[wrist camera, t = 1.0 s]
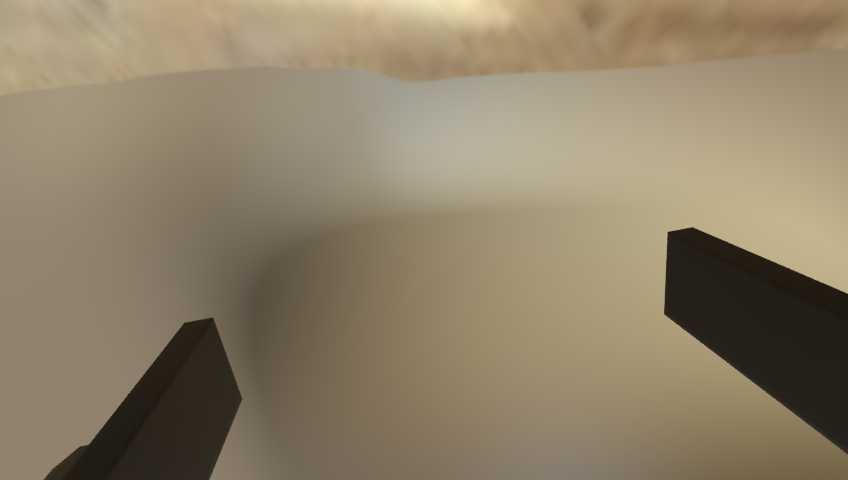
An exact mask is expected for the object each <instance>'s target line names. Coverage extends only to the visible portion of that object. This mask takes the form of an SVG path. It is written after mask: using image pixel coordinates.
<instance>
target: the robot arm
mask: <svg viewBox="0 0 848 480" xmlns="http://www.w3.org/2000/svg"><path fill="white" fill-rule="evenodd" d="M667 240H668V241H667V261H666V285H665V307H664V314H665V315H666V316H667V317H668V318H670V319H671V320H673V321H674V322H675V323H676V324H678V325H679V326H680V327H682V328H683V329H684V330H686V331H687V332H688V333H689V334H691V335H692V336H693V337H695V338H696V339H697V340H699V341H700V342H701V343H703V344H704V345H705V346H706V347H708V348H709V349H710V350H712V351H713V352H714V353H716V354H717V355H718V356H720V357H721V358H722V359H724V360H725V361H726V362H727V363H729V364H730V365H731V366H733V367H734V368H735V369H737V370H738V371H739V372H741V373H742V374H743V375H745V376H746V377H747V378H748V379H750V380H751V381H752V382H754V383H755V384H757V385H758V386H759V387H760V388H762V389H763V390H764V391H766V392H767V393H768V394H769V395H771V396H772V397H773V398H775V399H776V400H777V401H779V402H780V403H782V404H783V405H784V406H785V407H786V408H788V409H789V410H790V411H792V412H793V413H794V414H796V415H797V416H798V417H800V418H801V419H802V420H803V421H805V422H806V423H807V424H809V425H810V426H811V427H813V428H814V429H815V430H817V431H818V432H819V433H821V434H822V435H823V436H824V437H826V438H827V439H828V440H830V441H831V442H832V443H834V444H835V445H836V446H838V447H839V448H840V449H842V450H843V451H844V452H846V453H847V454H848V294H847V293H845V292H842V291H840V290H838V289H835V288H833V287H831V286H828V285H826V284H824V283H821V282H819V281H817V280H814V279H812V278H810V277H807V276H805V275H803V274H800V273H798V272H796V271H793V270H791V269H789V268H786V267H784V266H782V265H779V264H777V263H775V262H772V261H770V260H767V259H765V258H763V257H761V256H758V255H756V254H754V253H751V252H749V251H747V250H744V249H742V248H740V247H737V246H735V245H733V244H730V243H728V242H726V241H723V240H721V239H719V238H716V237H714V236H712V235H709V234H707V233H705V232H702V231H700V230H698V229H695V228H693V227H692V228H686V229H681V230H676V231H671V232H668V238H667ZM241 400H242V397H241V394H240V391H239V389H238V386H237V383H236V380H235V378H234V375H233V372H232V369H231V366H230V364H229V361H228V358H227V355H226V352H225V350H224V347H223V344H222V341H221V338H220V336H219V333H218V330H217V327H216V324H215V322H214V319H213V318H208V319H203V320H197V321H192V322H187V323H184V324H183V326H182V327H181V328H180V329H179V331H178V332H177V333H176V334H175V336H174V337H173V338H172V340H171V341H170V342H169V343H168V345H167V346H166V347H165V348H164V350H163V351H162V352H161V354H160V355H159V356H158V357H157V359H156V360H155V361H154V362H153V364H152V365H151V366H150V368H149V369H148V370H147V371H146V373H145V374H144V375H143V377H142V378H141V379H140V380H139V382H138V383H137V384H136V385H135V387H134V388H133V389H132V391H131V392H130V393H129V394H128V396H127V397H126V398H125V399H124V401H123V402H122V403H121V405H120V406H119V407H118V408H117V410H116V411H115V412H114V414H113V415H112V416H111V418H110V419H109V420H108V421H107V422H106V424H105V425H104V426H103V428H102V429H101V430H100V431H99V433H98V434H97V435H96V437H95V438H94V439H93V440H92V442H91V443H90V444H89V445H86V446H81V447H79V448H78V449H77V450H75V451H74V452H73V453H72V454H70V455H69V456H68V457H67V458H66V459H64V460H63V461H62V462H61V463H59V464H58V465H57V466H56V467H55V468H53V469H52V471H51V472H50V473H49V474H48V475H47V477H46V478H45V479H44V480H209V479H210V477H211V474H212V472H213V469H214V467H215V464H216V462H217V459H218V457H219V455H220V452H221V450H222V447H223V445H224V442H225V440H226V437H227V435H228V432H229V430H230V427H231V425H232V423H233V420H234V418H235V415H236V413H237V410H238V408H239V405H240V403H241Z"/></svg>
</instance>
